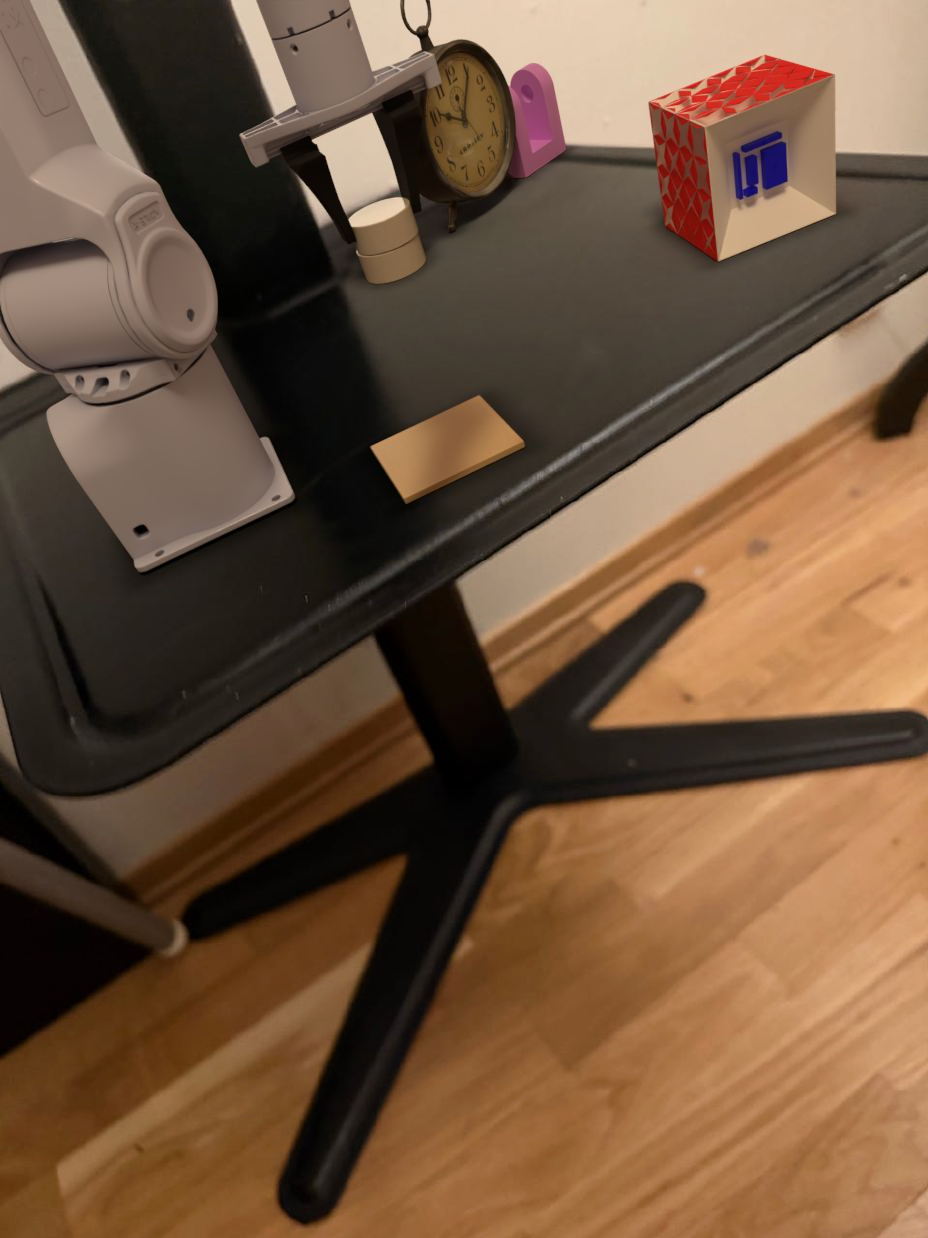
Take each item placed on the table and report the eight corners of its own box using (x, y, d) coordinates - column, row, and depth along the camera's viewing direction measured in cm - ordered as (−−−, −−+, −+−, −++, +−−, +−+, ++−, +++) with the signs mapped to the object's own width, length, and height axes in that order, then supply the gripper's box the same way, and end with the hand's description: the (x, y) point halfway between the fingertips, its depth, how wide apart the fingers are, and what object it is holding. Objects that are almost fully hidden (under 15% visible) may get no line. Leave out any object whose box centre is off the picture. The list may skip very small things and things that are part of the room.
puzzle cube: (772, 182, 62) (765, 54, 56) (836, 213, 56) (835, 73, 50) (663, 226, 62) (646, 102, 56) (716, 262, 56) (703, 127, 50)
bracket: (566, 149, 79) (549, 61, 74) (525, 177, 76) (505, 88, 72) (463, 150, 87) (442, 71, 82) (424, 176, 85) (400, 96, 80)
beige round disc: (376, 290, 68) (366, 262, 67) (359, 272, 72) (348, 245, 71) (435, 263, 69) (426, 235, 67) (414, 246, 72) (406, 220, 71)
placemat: (406, 504, 47) (403, 498, 46) (372, 451, 51) (369, 446, 51) (525, 447, 47) (523, 440, 47) (481, 400, 52) (479, 394, 52)
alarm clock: (458, 239, 71) (388, 3, 60) (409, 239, 74) (334, 15, 63) (534, 177, 76) (482, -51, 65) (485, 179, 79) (427, -37, 68)
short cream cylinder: (367, 261, 67) (356, 232, 65) (350, 245, 71) (339, 217, 69) (427, 234, 67) (418, 205, 66) (407, 219, 71) (398, 191, 70)
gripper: (391, -24, 63) (449, 174, 72) (202, 59, 62) (285, 249, 71) (423, -19, 58) (481, 193, 67) (217, 72, 56) (305, 275, 65)
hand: (382, 224), depth 68 cm, fingers closed on short cream cylinder, 5 cm apart
